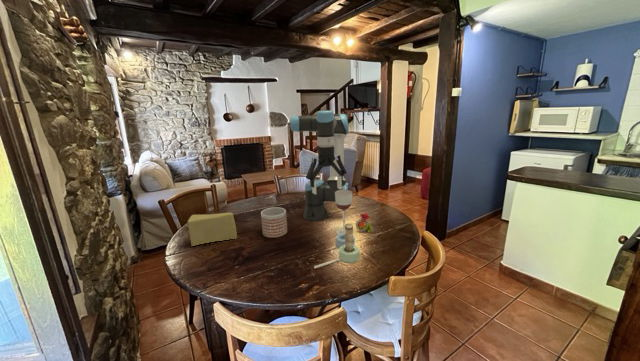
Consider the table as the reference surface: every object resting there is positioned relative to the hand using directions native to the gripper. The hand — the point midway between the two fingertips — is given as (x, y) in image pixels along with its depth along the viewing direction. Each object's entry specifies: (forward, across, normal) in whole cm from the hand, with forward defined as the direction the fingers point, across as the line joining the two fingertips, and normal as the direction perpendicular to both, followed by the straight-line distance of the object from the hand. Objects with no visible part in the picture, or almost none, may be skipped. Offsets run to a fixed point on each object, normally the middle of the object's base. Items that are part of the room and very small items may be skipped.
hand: (327, 191), depth 125 cm
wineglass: (+29, +15, +9) cm, 34 cm away
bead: (+29, +3, -14) cm, 32 cm away
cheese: (+29, -49, +36) cm, 67 cm away
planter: (+29, -18, +29) cm, 45 cm away
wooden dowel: (+29, +3, -14) cm, 32 cm away
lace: (+29, -9, -14) cm, 33 cm away
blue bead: (+29, +8, -3) cm, 30 cm away
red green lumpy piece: (+29, +25, +4) cm, 38 cm away
